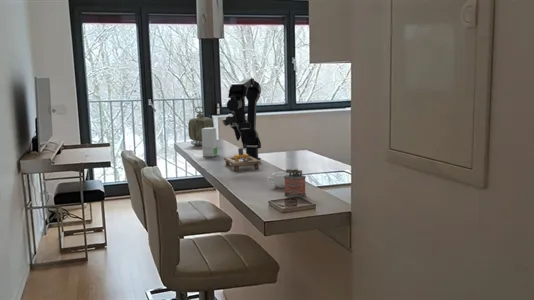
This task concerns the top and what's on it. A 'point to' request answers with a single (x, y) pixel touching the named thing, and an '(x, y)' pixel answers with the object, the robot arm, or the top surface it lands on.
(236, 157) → the yellow block
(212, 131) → the skincare box
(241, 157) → the silver metal rod
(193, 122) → the tabletop clock
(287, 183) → the lighter
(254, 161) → the wooden frame with rod
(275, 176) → the teacup
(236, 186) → the top surface
